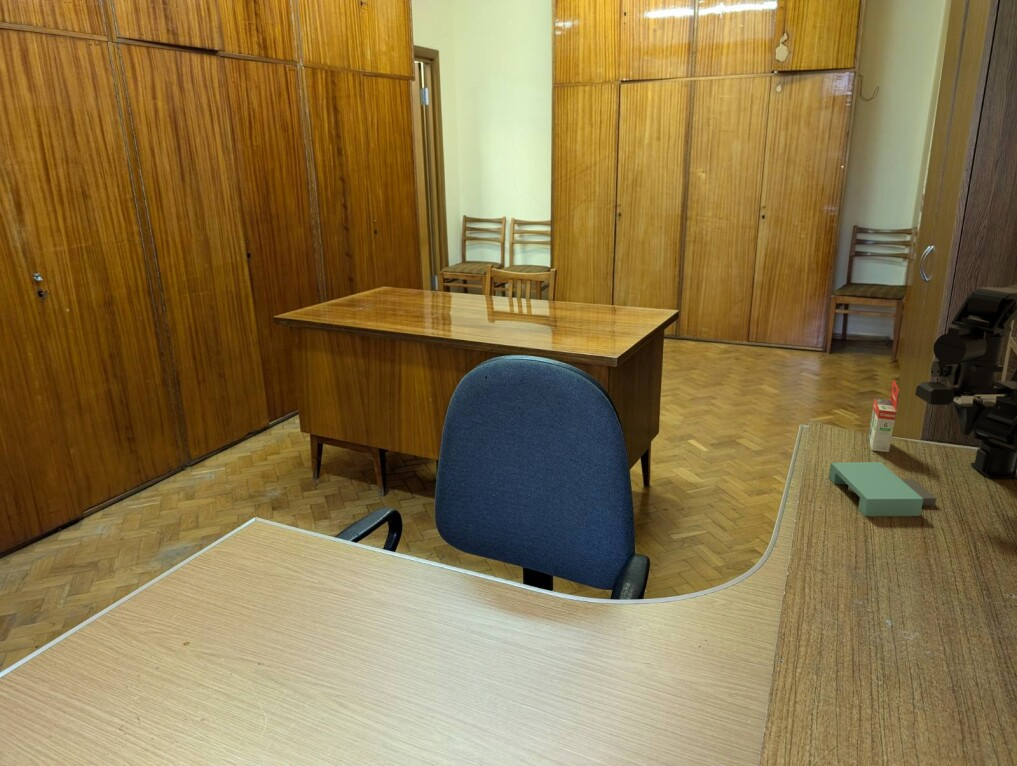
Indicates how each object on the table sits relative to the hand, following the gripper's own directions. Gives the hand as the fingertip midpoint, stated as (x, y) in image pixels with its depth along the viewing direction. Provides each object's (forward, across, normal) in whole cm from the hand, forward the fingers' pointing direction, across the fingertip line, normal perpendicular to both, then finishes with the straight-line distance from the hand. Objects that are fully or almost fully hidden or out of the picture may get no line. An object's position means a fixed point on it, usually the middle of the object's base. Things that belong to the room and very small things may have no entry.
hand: (964, 434), depth 132 cm
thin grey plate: (+11, +14, +4) cm, 18 cm away
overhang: (+11, +18, +4) cm, 21 cm away
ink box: (+11, +5, -20) cm, 23 cm away
